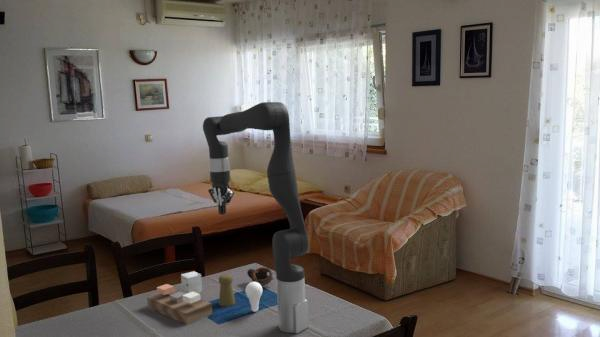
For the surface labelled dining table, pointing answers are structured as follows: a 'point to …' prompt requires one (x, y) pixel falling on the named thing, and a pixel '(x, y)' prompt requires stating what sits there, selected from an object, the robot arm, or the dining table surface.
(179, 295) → the grey key
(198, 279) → the skincare box
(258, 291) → the lightbulb
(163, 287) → the terracotta key
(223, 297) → the olive rounded waisted cylinder
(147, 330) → the dining table surface
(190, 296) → the off-white key
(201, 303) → the key panel
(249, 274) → the pottery mug
